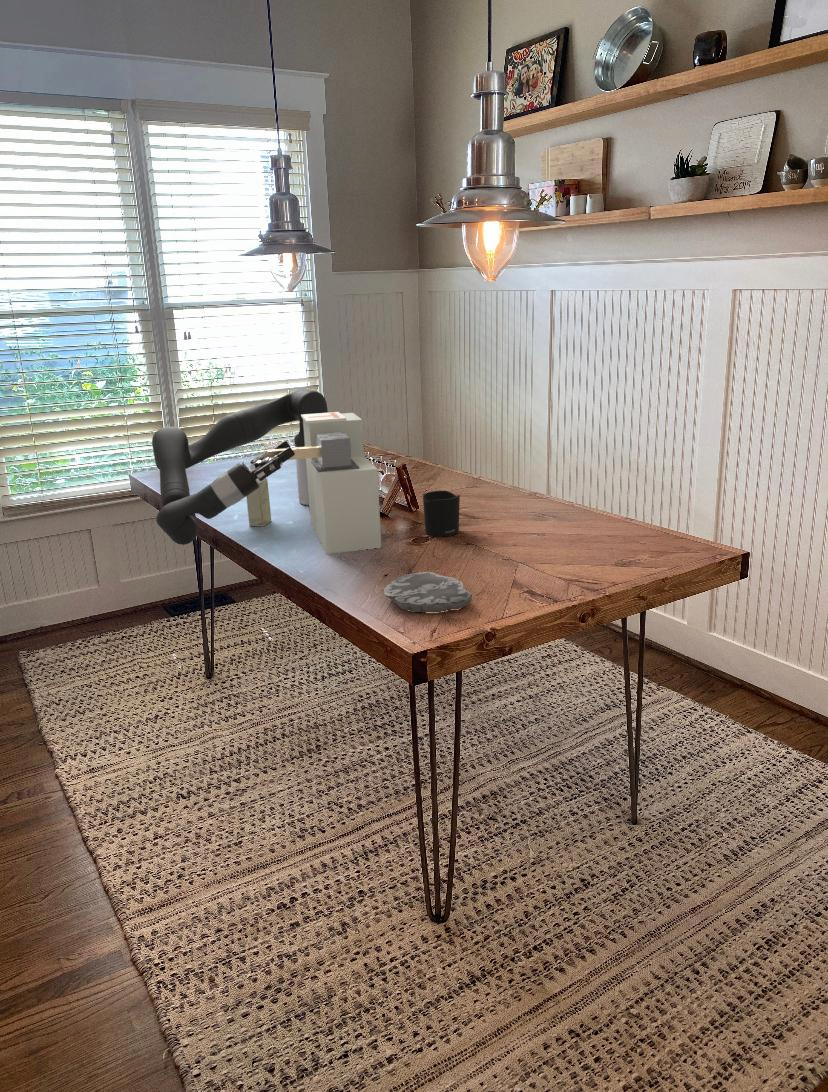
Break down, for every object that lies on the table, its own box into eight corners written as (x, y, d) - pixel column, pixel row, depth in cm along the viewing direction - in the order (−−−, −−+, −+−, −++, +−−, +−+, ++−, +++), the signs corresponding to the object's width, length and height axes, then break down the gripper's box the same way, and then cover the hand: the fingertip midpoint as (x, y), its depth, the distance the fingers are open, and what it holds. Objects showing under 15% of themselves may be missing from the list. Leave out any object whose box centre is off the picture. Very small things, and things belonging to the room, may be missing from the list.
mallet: (344, 459, 214) (343, 431, 212) (351, 466, 206) (350, 438, 204) (266, 466, 210) (264, 438, 208) (270, 473, 201) (268, 444, 199)
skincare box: (263, 526, 232) (259, 483, 228) (248, 526, 233) (244, 483, 229) (272, 520, 238) (268, 477, 234) (257, 520, 238) (253, 477, 235)
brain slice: (366, 597, 179) (366, 584, 179) (434, 580, 188) (433, 568, 187) (416, 627, 164) (415, 613, 163) (487, 607, 172) (487, 593, 171)
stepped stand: (359, 518, 236) (353, 410, 227) (381, 548, 210) (375, 427, 201) (308, 523, 233) (300, 414, 224) (325, 554, 207) (316, 431, 198)
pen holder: (421, 537, 218) (420, 499, 214) (426, 527, 226) (425, 490, 223) (458, 538, 216) (457, 499, 213) (461, 527, 225) (461, 490, 222)
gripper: (227, 479, 197) (285, 439, 197) (224, 466, 210) (278, 429, 211) (246, 504, 200) (303, 465, 200) (242, 490, 213) (295, 453, 213)
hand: (290, 447), depth 205 cm, fingers open, 8 cm apart
